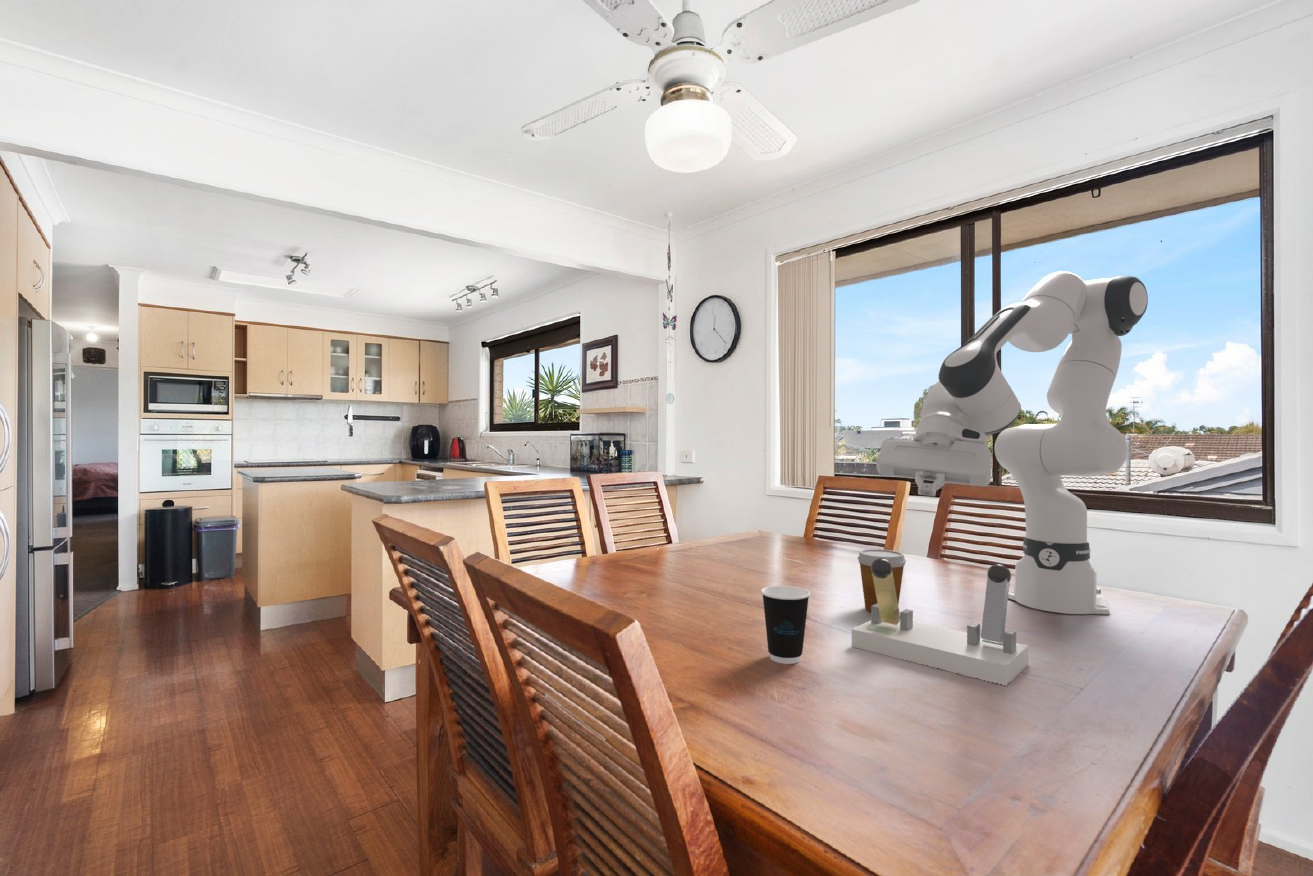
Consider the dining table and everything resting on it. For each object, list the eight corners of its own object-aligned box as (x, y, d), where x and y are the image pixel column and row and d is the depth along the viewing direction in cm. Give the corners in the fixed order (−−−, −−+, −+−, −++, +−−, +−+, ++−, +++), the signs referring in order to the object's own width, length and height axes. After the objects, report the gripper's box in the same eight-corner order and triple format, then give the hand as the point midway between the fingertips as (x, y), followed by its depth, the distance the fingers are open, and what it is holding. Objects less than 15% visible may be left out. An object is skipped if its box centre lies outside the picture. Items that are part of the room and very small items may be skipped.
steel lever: (983, 639, 100) (991, 565, 103) (1006, 644, 98) (1014, 568, 101) (977, 637, 98) (985, 560, 101) (1000, 642, 96) (1009, 563, 99)
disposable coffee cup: (913, 617, 124) (913, 557, 124) (865, 617, 124) (865, 557, 124) (895, 604, 133) (895, 548, 133) (851, 604, 134) (851, 548, 134)
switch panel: (881, 631, 115) (882, 598, 115) (1028, 664, 99) (1028, 626, 99) (851, 646, 107) (851, 611, 107) (1006, 686, 90) (1006, 644, 90)
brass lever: (885, 613, 111) (874, 553, 108) (904, 617, 109) (893, 556, 105) (877, 624, 109) (866, 563, 105) (896, 628, 106) (885, 566, 103)
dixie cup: (779, 670, 96) (780, 599, 96) (751, 654, 103) (751, 588, 103) (820, 663, 99) (820, 594, 99) (790, 647, 106) (790, 583, 106)
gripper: (882, 426, 127) (867, 475, 119) (995, 434, 116) (987, 489, 108) (884, 448, 131) (870, 496, 123) (994, 458, 120) (986, 512, 112)
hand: (926, 493), depth 115 cm, fingers closed
